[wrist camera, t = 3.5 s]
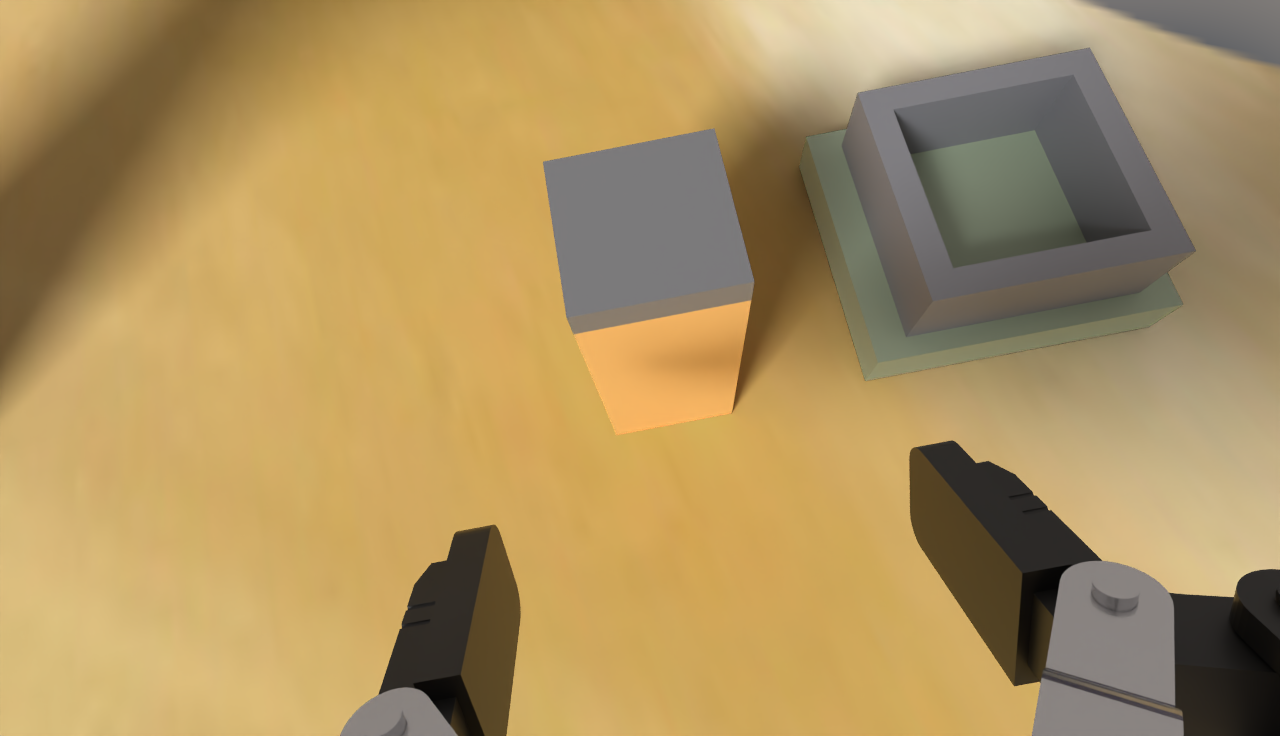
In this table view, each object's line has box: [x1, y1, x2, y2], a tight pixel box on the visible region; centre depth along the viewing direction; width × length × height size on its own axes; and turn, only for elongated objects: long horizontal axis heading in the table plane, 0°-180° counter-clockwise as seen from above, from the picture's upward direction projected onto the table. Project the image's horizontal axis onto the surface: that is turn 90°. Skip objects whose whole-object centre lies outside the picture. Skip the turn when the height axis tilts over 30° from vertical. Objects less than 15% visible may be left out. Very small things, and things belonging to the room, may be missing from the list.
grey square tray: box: [799, 48, 1196, 381], centre depth 26 cm, size 11×10×5 cm
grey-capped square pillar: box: [543, 129, 754, 435], centre depth 22 cm, size 4×4×11 cm
